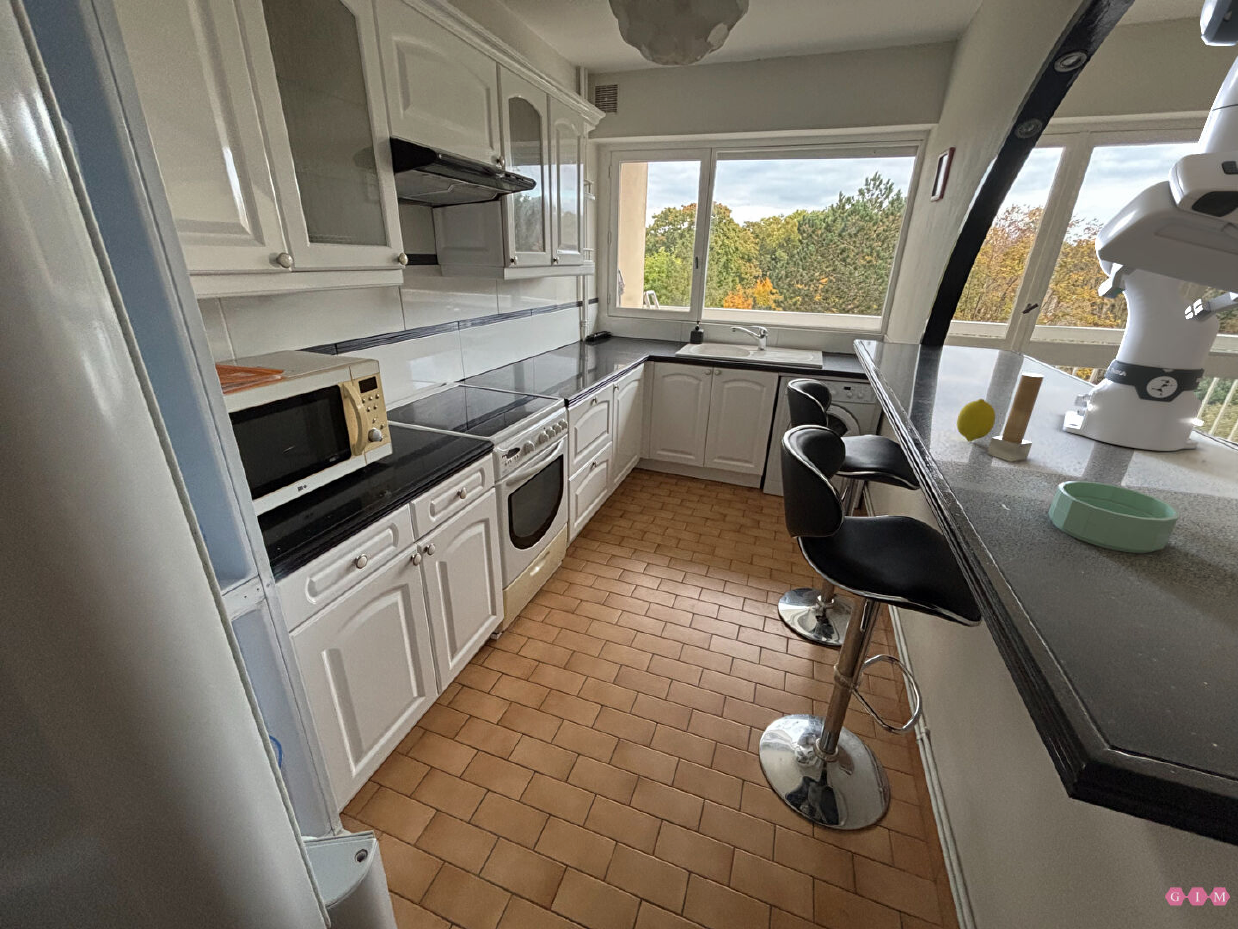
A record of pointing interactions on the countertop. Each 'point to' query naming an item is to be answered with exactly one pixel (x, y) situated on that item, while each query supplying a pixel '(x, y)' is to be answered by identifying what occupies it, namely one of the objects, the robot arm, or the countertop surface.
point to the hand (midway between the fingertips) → (1148, 305)
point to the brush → (1018, 421)
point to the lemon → (976, 420)
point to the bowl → (1113, 516)
